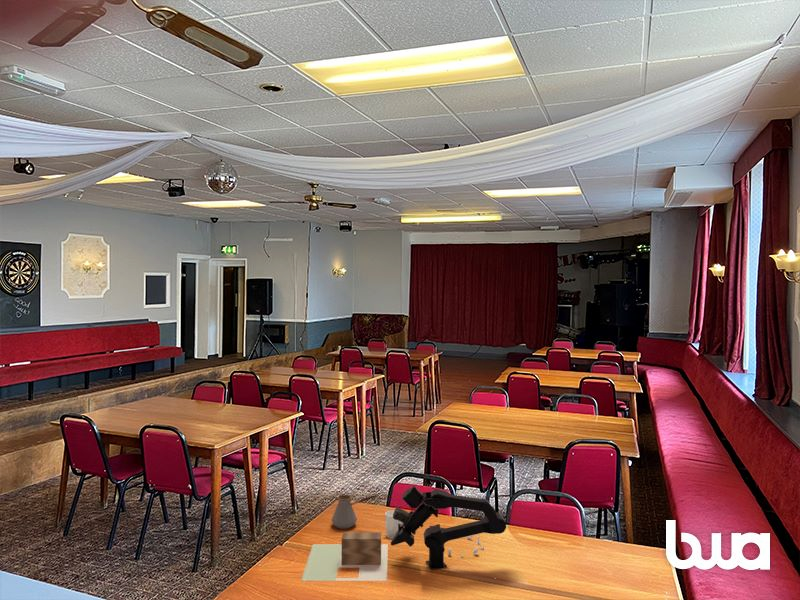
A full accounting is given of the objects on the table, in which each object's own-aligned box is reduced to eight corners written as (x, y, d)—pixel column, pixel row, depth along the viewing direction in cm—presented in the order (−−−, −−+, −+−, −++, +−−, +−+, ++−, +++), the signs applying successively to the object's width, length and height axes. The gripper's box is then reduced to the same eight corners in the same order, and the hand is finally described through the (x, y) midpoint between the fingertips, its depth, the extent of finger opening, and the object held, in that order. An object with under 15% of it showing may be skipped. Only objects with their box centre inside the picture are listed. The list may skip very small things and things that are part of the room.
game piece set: (492, 553, 238) (492, 544, 237) (448, 562, 230) (448, 552, 230) (469, 534, 256) (469, 526, 255) (428, 542, 248) (428, 533, 248)
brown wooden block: (381, 557, 230) (381, 532, 229) (380, 564, 224) (380, 539, 223) (342, 557, 230) (342, 532, 229) (341, 564, 224) (341, 539, 223)
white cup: (395, 541, 248) (395, 518, 247) (381, 536, 252) (381, 513, 252) (406, 535, 254) (407, 512, 254) (392, 530, 259) (392, 508, 258)
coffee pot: (328, 529, 260) (328, 496, 259) (335, 519, 271) (335, 487, 271) (374, 533, 255) (374, 499, 255) (380, 523, 267) (380, 490, 266)
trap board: (387, 547, 242) (387, 544, 242) (386, 584, 212) (386, 580, 212) (312, 547, 242) (312, 544, 241) (301, 584, 212) (301, 580, 211)
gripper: (404, 493, 236) (377, 520, 236) (405, 510, 217) (375, 540, 217) (424, 512, 236) (396, 539, 236) (426, 531, 217) (396, 561, 217)
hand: (391, 544), depth 227 cm, fingers closed
